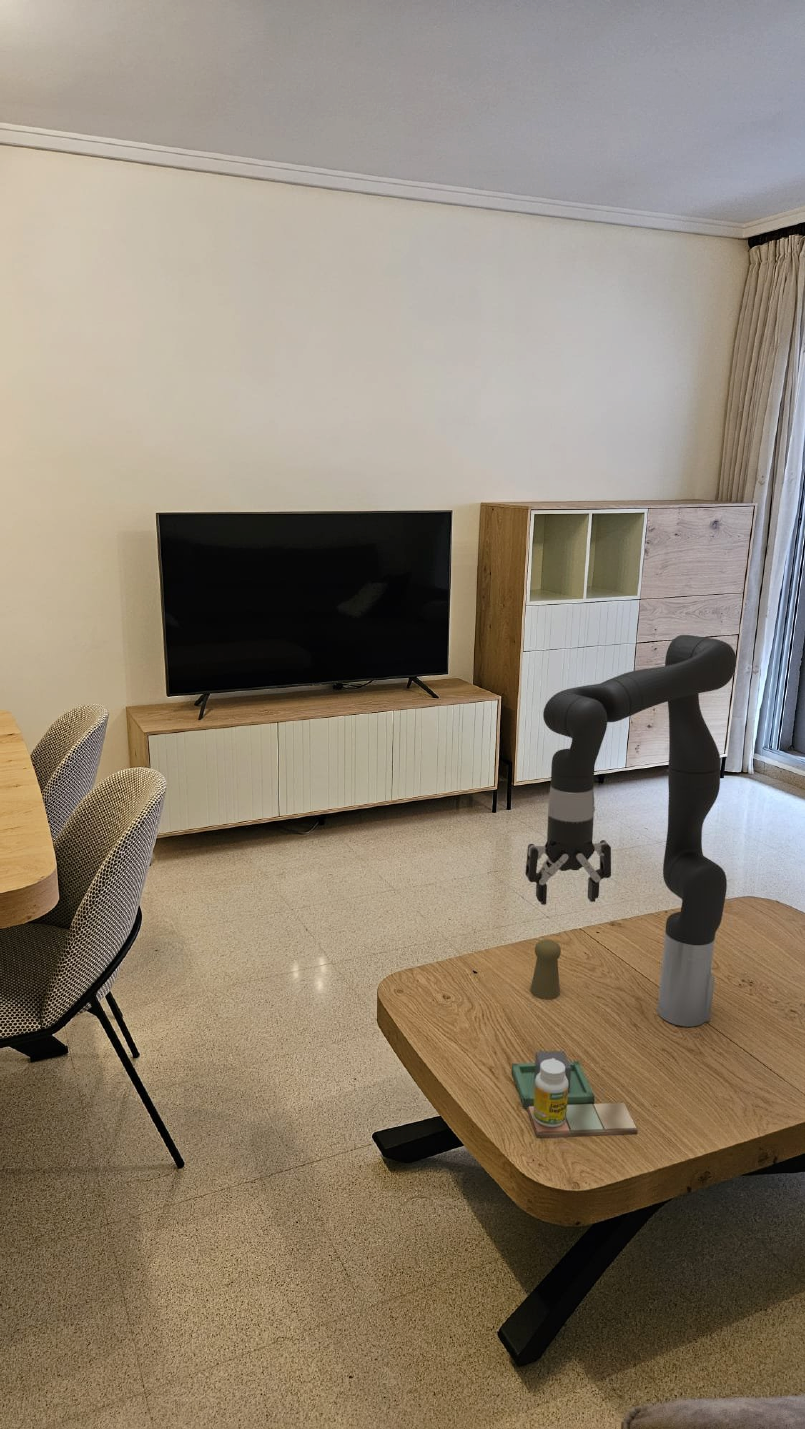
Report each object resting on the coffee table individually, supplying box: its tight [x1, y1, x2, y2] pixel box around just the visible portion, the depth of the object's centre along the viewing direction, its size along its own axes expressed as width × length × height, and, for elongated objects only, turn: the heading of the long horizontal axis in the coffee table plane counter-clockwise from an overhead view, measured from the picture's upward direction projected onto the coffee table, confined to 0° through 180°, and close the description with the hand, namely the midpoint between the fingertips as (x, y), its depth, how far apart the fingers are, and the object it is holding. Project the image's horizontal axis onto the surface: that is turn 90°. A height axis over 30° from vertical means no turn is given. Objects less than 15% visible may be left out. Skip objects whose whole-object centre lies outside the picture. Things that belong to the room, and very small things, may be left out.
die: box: [534, 1050, 571, 1093], centre depth 169 cm, size 5×5×5 cm
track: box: [526, 1102, 639, 1139], centre depth 161 cm, size 16×7×1 cm, turn 95°
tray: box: [511, 1060, 596, 1109], centre depth 169 cm, size 12×10×2 cm
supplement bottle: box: [533, 1059, 568, 1127], centre depth 159 cm, size 5×5×10 cm
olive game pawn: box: [529, 939, 562, 1001], centre depth 200 cm, size 6×6×11 cm
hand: (566, 901), depth 168 cm, fingers open, 8 cm apart
